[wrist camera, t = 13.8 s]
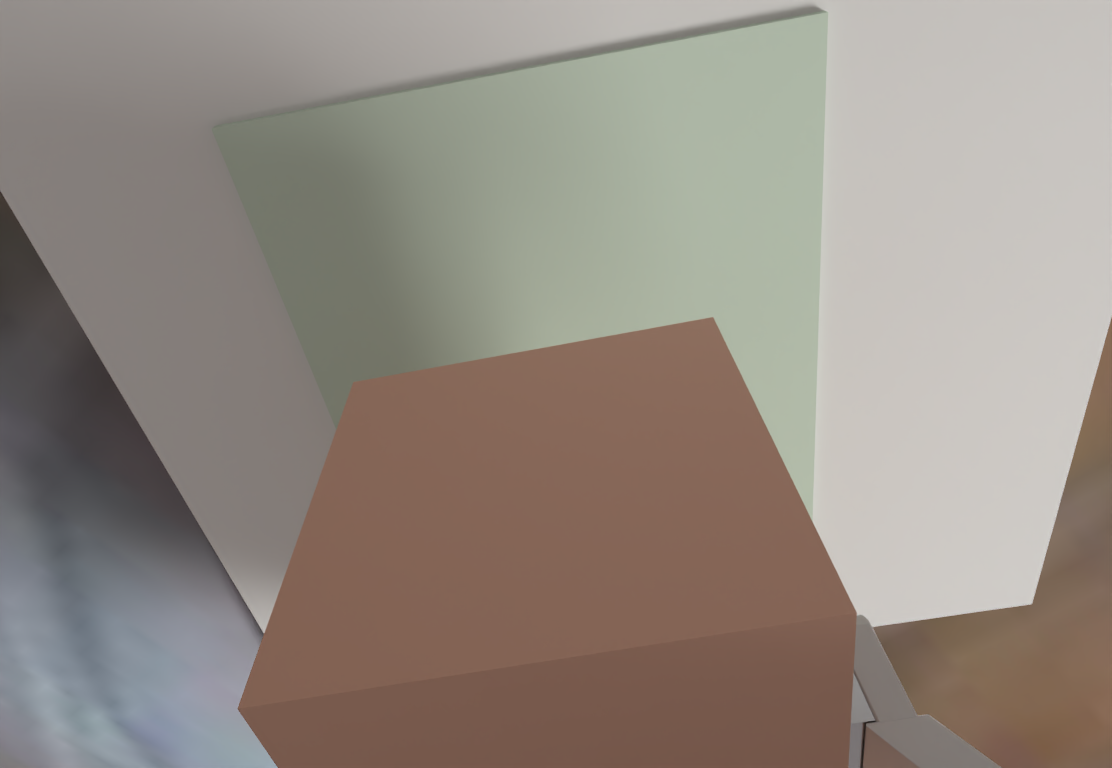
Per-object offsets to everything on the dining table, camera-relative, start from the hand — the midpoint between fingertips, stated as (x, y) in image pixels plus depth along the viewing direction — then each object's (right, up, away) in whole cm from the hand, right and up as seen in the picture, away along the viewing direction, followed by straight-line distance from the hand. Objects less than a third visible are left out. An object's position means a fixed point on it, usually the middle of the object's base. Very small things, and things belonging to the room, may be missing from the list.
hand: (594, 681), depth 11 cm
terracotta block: (+1, -5, +3) cm, 6 cm away
